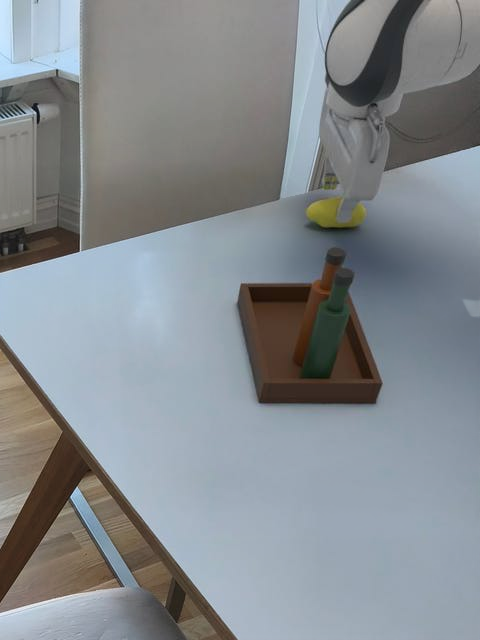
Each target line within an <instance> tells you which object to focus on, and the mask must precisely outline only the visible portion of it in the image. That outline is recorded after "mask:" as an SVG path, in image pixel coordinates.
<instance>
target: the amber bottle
mask: <svg viewBox="0 0 480 640" xmlns="http://www.w3.org/2000/svg"><path fill="white" fill-rule="evenodd" d="M346 256H347V250H345V249H344V248H342V247H339V246H338V247H337V246H334V247H330V248H328V249H327V251H326V254H325V258H324V260H325V263H324V267H323V270H322V273H321V278H320V279H316V280H314V281H313V282H312V283H313V284H312V287H311V291H310V294H309V298H308V302H307V306H306V310H305V314H304V318H303V321H302V325H301V329H300V333H299V337H298V341H297V344H296V348H295V352H294V356H293V360H294V362H295V363H296V364H297V365H299V366H303V363H304V359H305V355H306V352H307V348H308V344H309V341H310V337H311V333H312V329H313V326H314V322H315V318H316V315H317V311H318V307H319V304H320V303H321V302H323V301H325V300H328V299H329V296H330V292H331V288H332V285H333V277H334V274H335V271H336V270H337V269H339V268H343V267H342V266H343V264H344V262H345V260H346Z"/></svg>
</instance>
